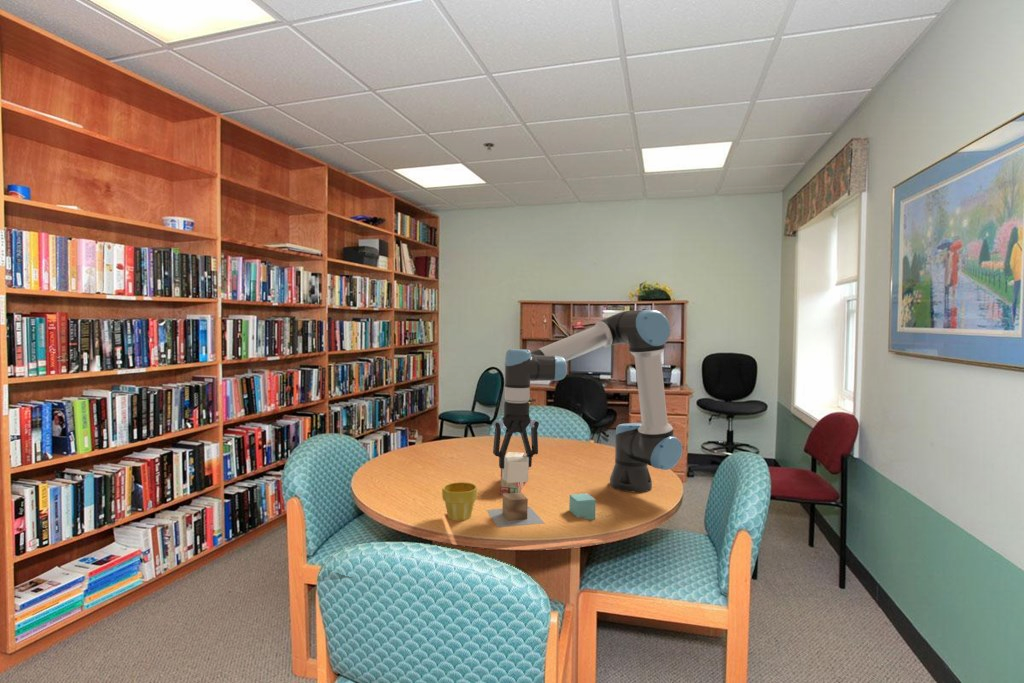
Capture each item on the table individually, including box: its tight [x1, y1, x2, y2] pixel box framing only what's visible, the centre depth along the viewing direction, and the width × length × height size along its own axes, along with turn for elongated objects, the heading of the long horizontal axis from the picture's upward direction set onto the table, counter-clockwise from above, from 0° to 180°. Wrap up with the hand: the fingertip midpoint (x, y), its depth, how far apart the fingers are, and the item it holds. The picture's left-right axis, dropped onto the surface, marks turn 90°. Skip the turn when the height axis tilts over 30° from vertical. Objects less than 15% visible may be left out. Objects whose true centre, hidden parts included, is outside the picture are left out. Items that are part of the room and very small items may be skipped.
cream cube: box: [506, 456, 529, 483], centre depth 151 cm, size 6×6×6 cm
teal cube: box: [568, 492, 597, 521], centre depth 155 cm, size 6×6×6 cm
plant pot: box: [441, 481, 478, 522], centre depth 151 cm, size 10×10×10 cm
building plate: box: [486, 506, 545, 528], centre depth 152 cm, size 14×14×1 cm
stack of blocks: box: [499, 451, 529, 496], centre depth 184 cm, size 21×6×12 cm, turn 168°
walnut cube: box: [501, 492, 529, 521], centre depth 152 cm, size 6×6×6 cm
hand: (515, 478), depth 151 cm, fingers closed on cream cube, 6 cm apart
